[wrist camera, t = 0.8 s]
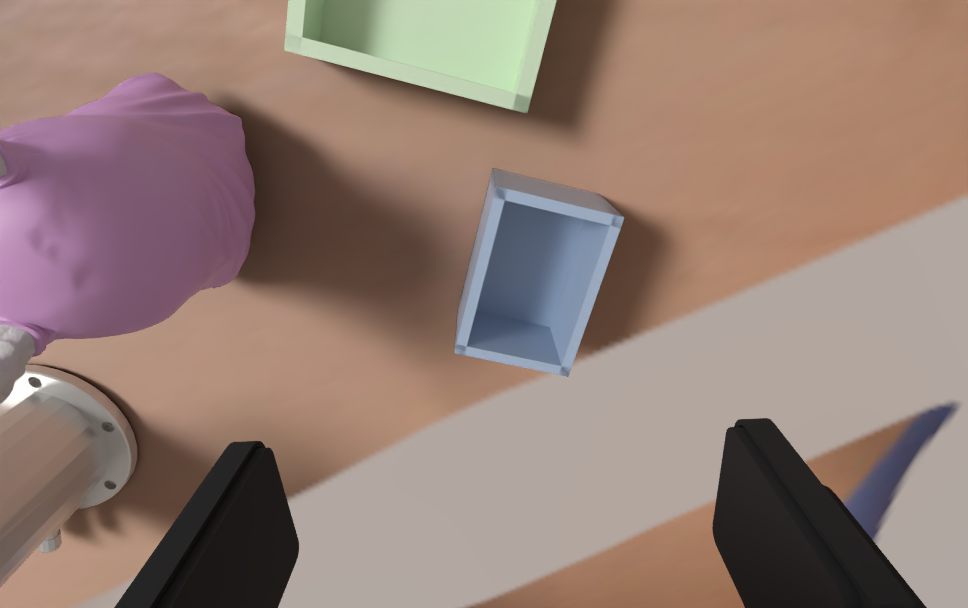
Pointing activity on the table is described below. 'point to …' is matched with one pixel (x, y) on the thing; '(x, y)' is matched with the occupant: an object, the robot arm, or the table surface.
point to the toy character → (117, 215)
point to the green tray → (431, 42)
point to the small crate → (534, 272)
